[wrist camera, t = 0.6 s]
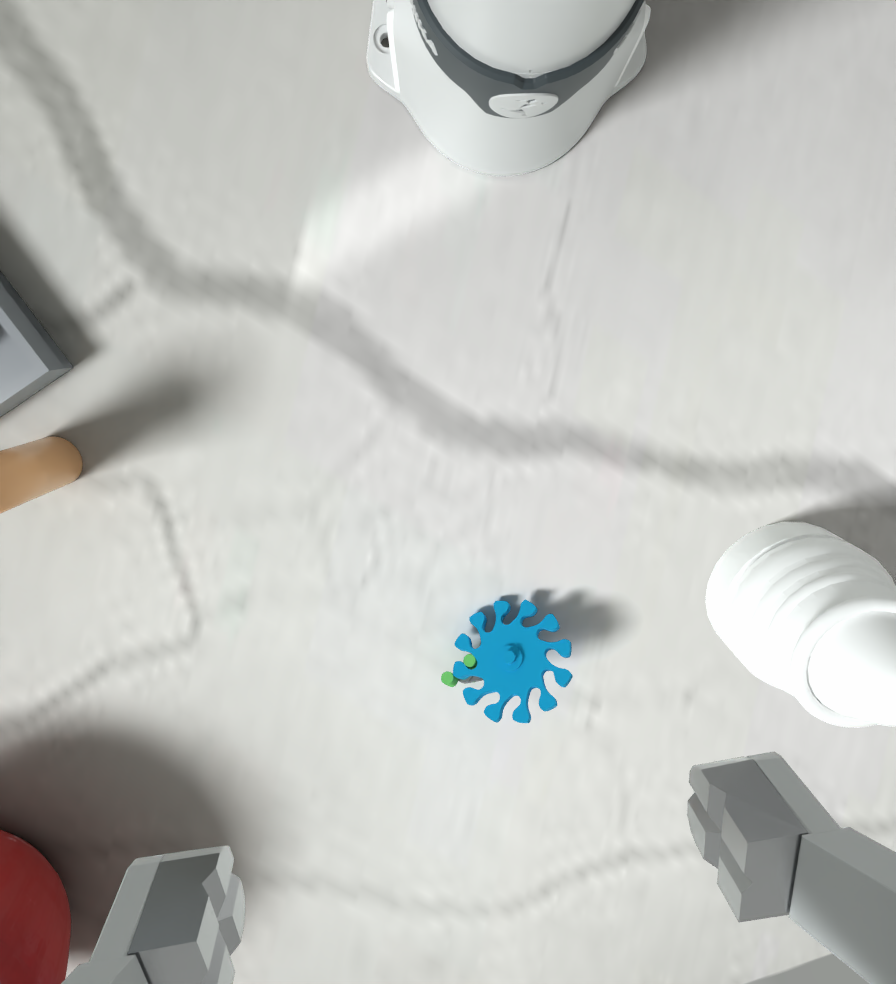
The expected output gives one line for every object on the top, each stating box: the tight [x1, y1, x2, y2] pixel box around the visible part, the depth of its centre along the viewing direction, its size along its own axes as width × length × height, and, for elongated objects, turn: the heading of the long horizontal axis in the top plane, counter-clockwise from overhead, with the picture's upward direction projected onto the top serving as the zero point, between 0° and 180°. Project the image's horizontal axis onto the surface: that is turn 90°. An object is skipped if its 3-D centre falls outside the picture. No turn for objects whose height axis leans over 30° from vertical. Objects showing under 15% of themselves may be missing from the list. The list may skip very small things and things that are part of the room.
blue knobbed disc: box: [441, 600, 572, 723], centre depth 52 cm, size 11×6×10 cm
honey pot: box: [705, 522, 896, 728], centre depth 44 cm, size 13×13×18 cm
